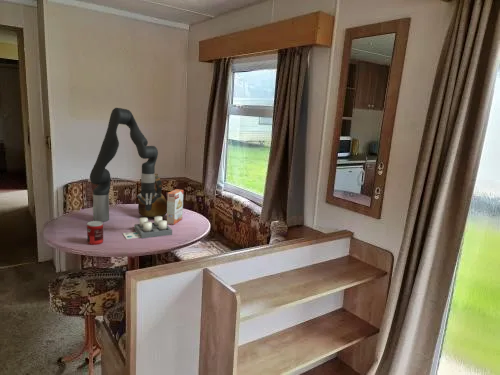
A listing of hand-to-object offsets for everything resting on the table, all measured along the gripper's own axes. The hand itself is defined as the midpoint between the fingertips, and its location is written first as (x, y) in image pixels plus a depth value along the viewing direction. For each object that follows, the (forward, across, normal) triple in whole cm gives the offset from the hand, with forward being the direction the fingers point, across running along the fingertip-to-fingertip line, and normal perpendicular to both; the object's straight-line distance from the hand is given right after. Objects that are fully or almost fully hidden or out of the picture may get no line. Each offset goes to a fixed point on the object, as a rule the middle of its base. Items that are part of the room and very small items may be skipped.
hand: (147, 210), depth 204 cm
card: (+15, +8, -2) cm, 17 cm away
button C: (+12, 0, 0) cm, 12 cm away
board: (+15, -4, -5) cm, 16 cm away
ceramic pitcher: (+15, -13, -36) cm, 41 cm away
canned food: (+15, +29, +2) cm, 32 cm away
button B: (+12, -9, -9) cm, 18 cm away
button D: (+12, -9, 0) cm, 15 cm away
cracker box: (+15, -23, -20) cm, 34 cm away
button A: (+12, 0, -9) cm, 15 cm away
